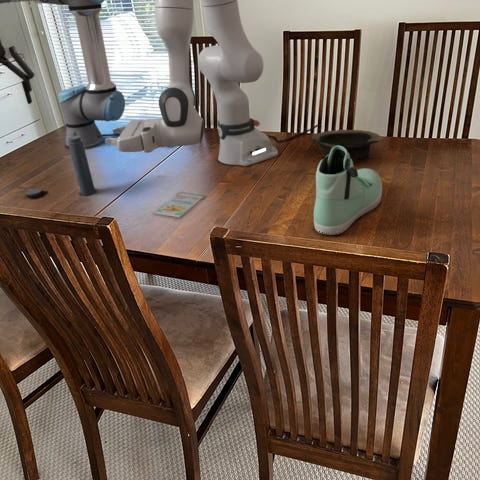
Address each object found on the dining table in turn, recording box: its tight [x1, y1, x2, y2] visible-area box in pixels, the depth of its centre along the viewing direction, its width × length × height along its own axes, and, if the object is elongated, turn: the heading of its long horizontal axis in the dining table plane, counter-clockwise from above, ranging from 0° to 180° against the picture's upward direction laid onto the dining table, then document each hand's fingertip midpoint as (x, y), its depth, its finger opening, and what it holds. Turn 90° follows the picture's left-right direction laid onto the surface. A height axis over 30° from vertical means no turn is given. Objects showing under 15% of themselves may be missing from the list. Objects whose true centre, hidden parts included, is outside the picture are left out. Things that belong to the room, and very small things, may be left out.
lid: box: [26, 187, 44, 199], centre depth 162 cm, size 5×5×2 cm
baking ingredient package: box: [153, 192, 205, 218], centre depth 148 cm, size 9×1×15 cm
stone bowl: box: [310, 129, 384, 164], centre depth 171 cm, size 25×25×9 cm
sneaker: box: [313, 146, 383, 236], centre depth 133 cm, size 14×35×20 cm, turn 152°
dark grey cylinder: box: [68, 136, 96, 196], centre depth 156 cm, size 4×4×19 cm
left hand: (7, 105), depth 147 cm, fingers open, 13 cm apart
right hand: (109, 136), depth 151 cm, fingers open, 8 cm apart
